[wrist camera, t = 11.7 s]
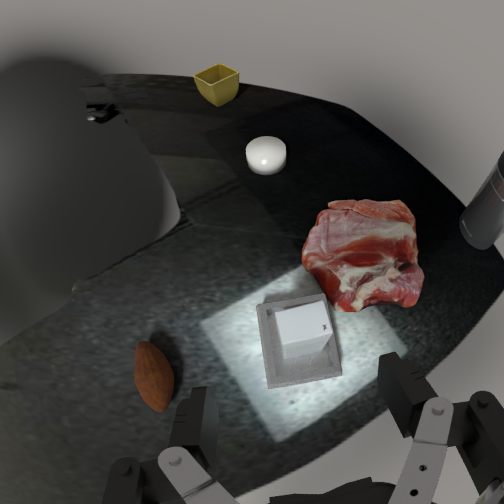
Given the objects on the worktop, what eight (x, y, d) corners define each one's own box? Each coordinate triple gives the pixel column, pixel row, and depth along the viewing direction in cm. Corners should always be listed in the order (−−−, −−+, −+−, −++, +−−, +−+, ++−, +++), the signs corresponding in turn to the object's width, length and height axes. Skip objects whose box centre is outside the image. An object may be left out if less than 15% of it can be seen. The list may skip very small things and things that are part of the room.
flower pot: (244, 99, 74) (239, 71, 66) (217, 113, 72) (210, 85, 64) (224, 88, 78) (219, 62, 70) (199, 102, 76) (192, 75, 68)
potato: (167, 338, 47) (152, 329, 41) (189, 406, 42) (175, 406, 36) (135, 349, 46) (117, 341, 41) (154, 415, 41) (136, 416, 35)
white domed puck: (281, 146, 64) (281, 134, 61) (289, 172, 60) (289, 160, 57) (245, 151, 64) (243, 139, 61) (250, 178, 61) (248, 166, 57)
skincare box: (315, 324, 45) (325, 298, 35) (322, 350, 43) (334, 333, 33) (276, 333, 45) (273, 311, 35) (282, 360, 43) (282, 346, 33)
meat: (312, 333, 45) (320, 316, 37) (290, 218, 55) (291, 182, 47) (430, 308, 45) (458, 286, 36) (395, 205, 55) (409, 171, 46)
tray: (324, 295, 48) (327, 289, 45) (341, 375, 42) (345, 373, 39) (256, 307, 48) (254, 301, 45) (268, 389, 42) (267, 388, 39)
